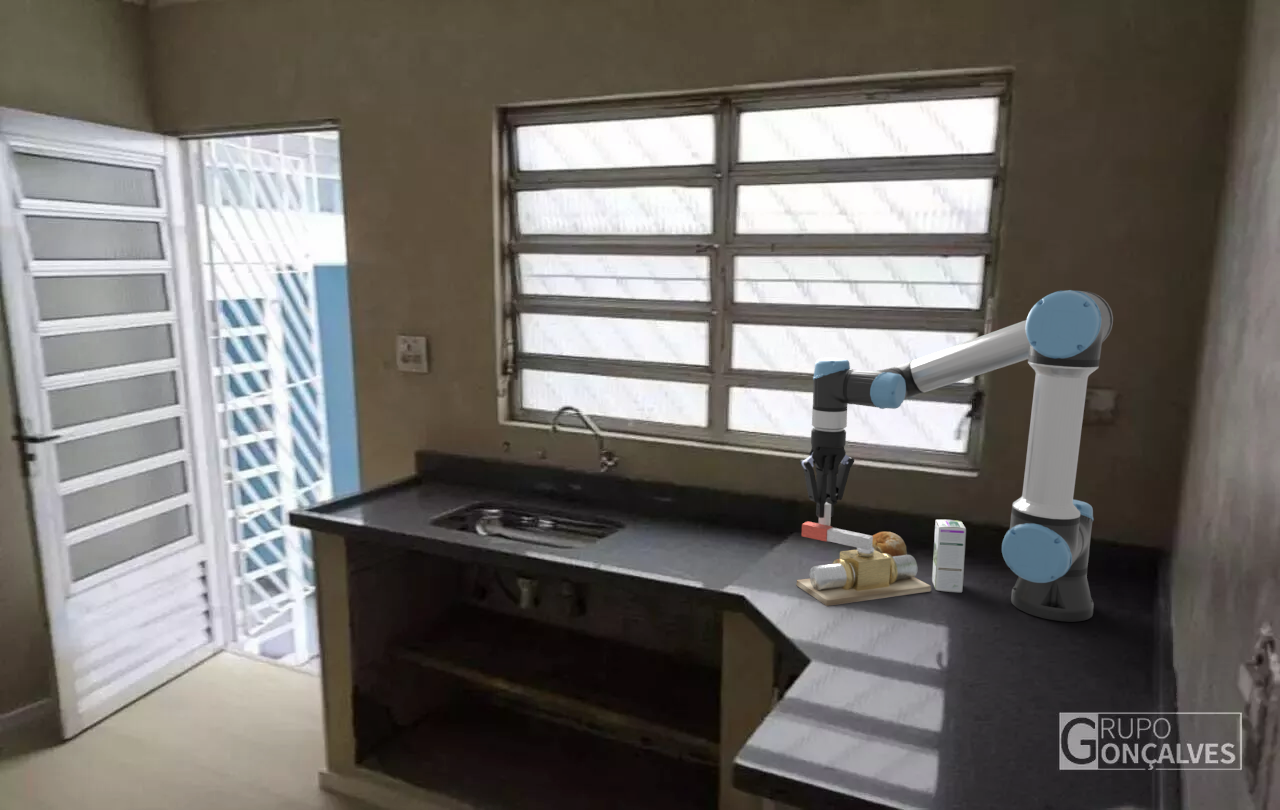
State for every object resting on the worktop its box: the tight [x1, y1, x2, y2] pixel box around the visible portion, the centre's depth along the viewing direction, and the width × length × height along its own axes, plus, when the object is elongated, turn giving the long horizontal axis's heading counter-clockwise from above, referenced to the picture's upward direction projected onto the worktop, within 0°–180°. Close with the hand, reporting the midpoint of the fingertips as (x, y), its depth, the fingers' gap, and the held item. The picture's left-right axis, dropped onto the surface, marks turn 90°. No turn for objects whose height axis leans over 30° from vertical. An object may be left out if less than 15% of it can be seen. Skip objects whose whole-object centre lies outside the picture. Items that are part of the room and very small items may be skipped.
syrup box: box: [931, 519, 967, 593], centre depth 179 cm, size 6×6×14 cm
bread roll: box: [872, 531, 908, 557], centre depth 199 cm, size 10×10×8 cm
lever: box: [800, 520, 874, 557], centre depth 181 cm, size 16×4×4 cm, turn 52°
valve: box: [809, 549, 918, 591], centre depth 178 cm, size 24×7×7 cm, turn 110°
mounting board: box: [795, 576, 932, 607], centre depth 179 cm, size 12×26×1 cm, turn 110°
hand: (824, 530), depth 186 cm, fingers closed
